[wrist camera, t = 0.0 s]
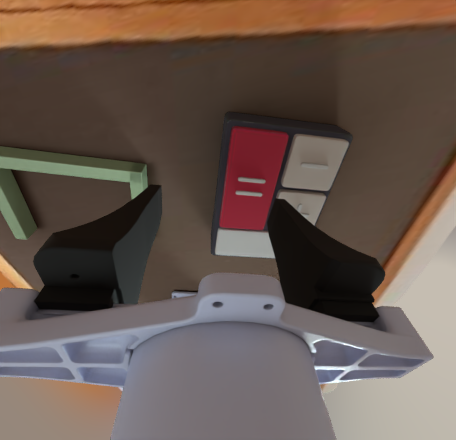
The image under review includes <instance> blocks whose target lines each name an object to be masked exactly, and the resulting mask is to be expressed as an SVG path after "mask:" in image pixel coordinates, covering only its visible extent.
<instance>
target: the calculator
mask: <svg viewBox="0 0 456 440" xmlns="http://www.w3.org/2000/svg"><path fill="white" fill-rule="evenodd" d="M352 138H353V136H352V134H350V133H349V132H347V131H345V130H343V129H342V128H340V127H338V126H336V125H329V124H321V123H313V122H305V121H298V120H290V119H282V118H274V117H267V116H259V115H251V114H243V113H236V112H227V113H226V114H225V117H224V125H223V134H222V143H221V152H220V161H219V170H218V179H217V188H216V197H215V206H214V212H213V221H212V230H211V254H213V255H219V256H237V257H255V258H273V259H275V255H274V252H273V249H272V245H271V242H270V238H269V233H268V226H267V222H268V219H269V216H270V213H271V210H272V207H273V204H274V201H275V198H278V199H285V200H286V201H287V202H288V203H290V204H291V205H292V206H293V207H294V208H295V209H296V210H297V211H298V212H299V213H300V214H301V215H302V216H304V217H305V218H306V219H307V220H308V221H309V222H311V223H312V224H313V225H314V226H315V225H316V223H317V221H318V218H319V216H320V214H321V211H322V209H323V207H324V204H325V202H326V200H327V197H328V195H329V193H330V190H331V188H332V186H333V183H334V181H335V179H336V176H337V174H338V172H339V169H340V167H341V165H342V162H343V160H344V158H345V155H346V153H347V151H348V148H349V146H350V144H351V141H352Z"/></svg>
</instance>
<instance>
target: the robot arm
mask: <svg viewBox="0 0 456 440" xmlns="http://www.w3.org/2000/svg"><path fill="white" fill-rule="evenodd" d="M161 215H162V192H161V185H152V184H151V185H150V186H148V187H147V188H146V189H145V190H144V191H142V192H141V193H140V194H139V195H138V196H136V197H135V198H134V199H132V200H131V201H130V202H128V203H127V204H125V205H124V206H123V207H121V208H119V209H118V210H116V211H114V212H112V213H110V214H108V215H106V216H104V217H102V218H100V219H97V220H95V221H93V222H90V223H87V224H84V225H81V226H78V227H75V228H71V229H68V230H64V231H60V232H56V233H53V234H52V235H51V236H50V237H49V238H48V240H47V241H46V242H45V243H44V245H43V246H42V247H41V248H40V250H39V251H38V252H37V254H36V255H35V256H34V260H33V262H34V266H35V268H36V270H37V272H38V274H39V275H40V277H41V279H42V281H43V283H44V285H45V286H44V287H43V289H42V290H41V292H40V293H39V292H38V291H36V290H33V289H23V288H2V290H1V291H0V377H24V378H25V377H26V378H39V379H51V380H60V381H70V382H79V383H87V384H96V385H105V386H114V387H123V391H122V396H121V399H120V404H119V407H118V411H117V415H116V419H115V423H114V426H113V430H112V435H111V438H110V440H336V437H335V433H334V430H333V427H332V423H331V420H330V417H329V413H328V410H327V407H326V404H325V400H324V397H323V394H322V390H321V387H320V384H328V383H337V382H345V381H354V380H364V379H379V378H401V377H402V376H404V375H406V374H408V373H409V372H411V371H413V370H414V369H416V368H418V367H419V366H421V365H423V364H424V363H426V362H427V361H429V360H431V359H433V355H432V353H431V352H430V350H429V349H428V347H427V346H426V344H425V343H424V341H423V340H422V338H421V337H420V336H419V334H418V333H417V331H416V330H415V328H414V327H413V325H412V324H411V322H410V321H409V319H408V318H407V317H406V315H405V314H404V312H403V311H402V309H401V308H399V307H386V306H381V307H377V308H375V307H374V306H373V304H372V302H374V298H373V296H372V295H371V294H372V293H373V292H374V291H375V290H376V289H377V287H378V286H379V285H380V284H381V283H382V281H383V280H384V277H385V271H384V270H383V268H382V267H381V265H380V264H379V262H378V261H377V260H376V258H373V257H371V256H368V255H366V254H363V253H361V252H358V251H356V250H354V249H352V248H350V247H348V246H346V245H344V244H342V243H340V242H338V241H337V240H335V239H333V238H331V237H330V236H328V235H327V234H325V233H324V232H322V231H321V230H319V229H318V228H317V227H315V226H314V225H313V224H312V223H311V222H309V221H308V220H307V219H306V218H305V217H304V216H302V215H301V214H300V213H299V212H298V211H297V210H296V209H295V208H294V207H293V206H292V205H291V204H290V203H288V202H287V201H286V200H285V199H278V198H275V201H274V204H273V207H272V210H271V213H270V216H269V219H268V222H267V226H268V233H269V238H270V242H271V245H272V249H273V252H274V255H275V259H276V262H277V266H278V271H279V277H280V282H279V281H278V280H277V279H276V278H274V277H271V276H267V275H256V274H240V273H225V272H220V273H212V274H210V275H208V276H206V277H204V278H203V279H202V280H201V282H200V284H199V290H198V292H180V291H174V292H172V299H166V300H160V301H154V302H147V303H141V304H138V299H139V294H140V289H141V284H142V280H143V275H144V271H145V267H146V263H147V259H148V255H149V252H150V250H151V247H152V244H153V241H154V239H155V236H156V233H157V231H158V228H159V224H160V220H161Z"/></svg>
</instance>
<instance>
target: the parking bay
mask: <svg viewBox="0 0 456 440" xmlns="http://www.w3.org/2000/svg"><path fill="white" fill-rule="evenodd" d="M11 169H14V170H23V171H32V172H41V173H50V174H59V175H68V176H77V177H86V178H96V179H105V180H114V181H123V182H130V188H131V197H132V199H134V198H135V197H136V196H138V195H139V194H140V193H141V192H142V191H144V190H145V189H146V188H147V187H148V184H147V168H146V164H142V163H134V162H126V161H118V160H110V159H101V158H93V157H85V156H77V155H69V154H60V153H52V152H44V151H36V150H28V149H20V148H11V147H3V146H0V211H1V212H2V214H3V216H4V218H5V220H6V221H7V223H8V225H9V227H10V229H11V231H12V232H13V234H14V236H15V238H16V239H28V238H29V237H30V236H31V235H32V234H33V233H34V232H35V230H36V229H37V226H36V224H35V222H34V220H33V217H32V215H31V213H30V211H29V209H28V206H27V204H26V202H25V200H24V198H23V195H22V193H21V191H20V189H19V187H18V184H17V182H16V180H15V178H14V176H13V173H12V171H11Z"/></svg>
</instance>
